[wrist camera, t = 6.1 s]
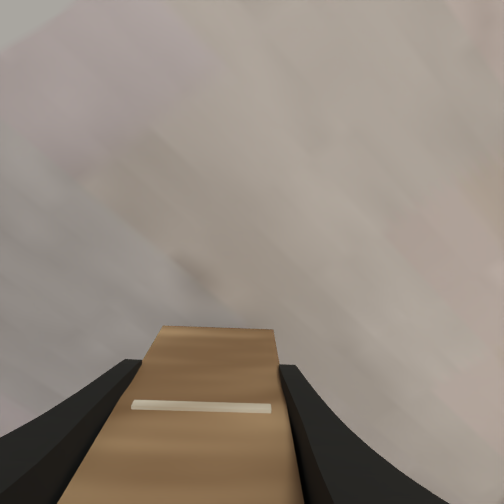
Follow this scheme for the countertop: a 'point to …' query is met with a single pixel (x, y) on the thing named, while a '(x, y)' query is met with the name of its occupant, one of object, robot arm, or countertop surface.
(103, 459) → the walnut domino
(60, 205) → the countertop surface
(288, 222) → the countertop surface
